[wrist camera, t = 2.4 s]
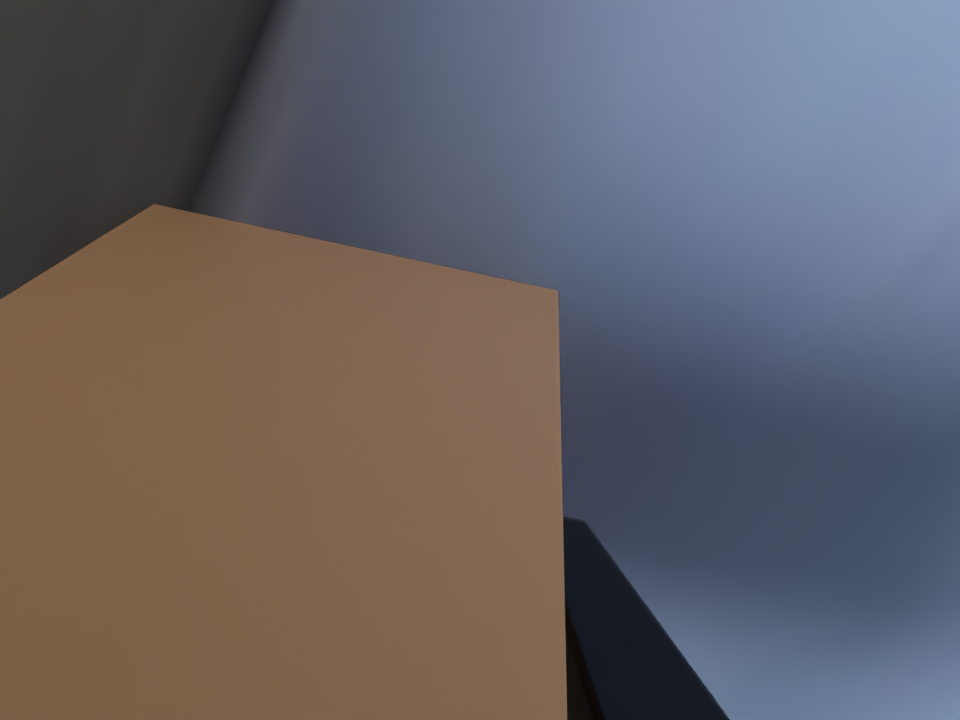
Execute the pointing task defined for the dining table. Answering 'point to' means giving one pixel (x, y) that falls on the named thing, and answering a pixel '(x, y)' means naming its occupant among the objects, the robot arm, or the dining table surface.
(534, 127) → the dining table surface
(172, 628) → the brown block
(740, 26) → the dining table surface
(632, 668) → the robot arm
